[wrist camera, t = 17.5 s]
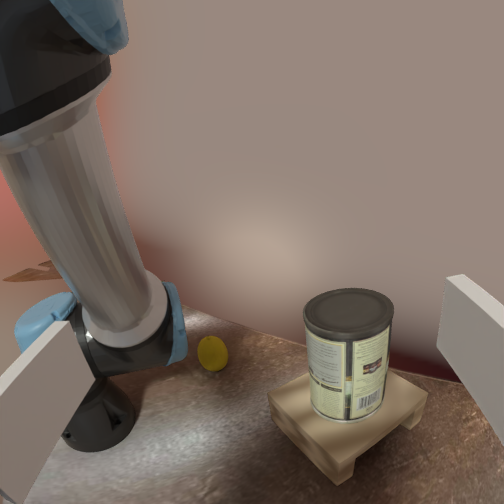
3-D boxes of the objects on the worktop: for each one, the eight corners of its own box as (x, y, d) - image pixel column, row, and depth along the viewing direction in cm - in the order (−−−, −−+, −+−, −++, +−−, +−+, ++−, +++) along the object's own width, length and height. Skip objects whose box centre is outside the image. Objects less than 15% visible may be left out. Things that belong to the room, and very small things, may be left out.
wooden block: (271, 419, 44) (267, 392, 42) (350, 375, 50) (351, 348, 48) (337, 486, 30) (339, 463, 28) (420, 420, 36) (428, 393, 35)
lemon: (230, 378, 55) (222, 343, 52) (201, 380, 55) (191, 346, 52) (232, 360, 60) (224, 326, 58) (204, 363, 60) (195, 329, 58)
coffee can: (336, 365, 45) (334, 281, 41) (396, 385, 38) (407, 296, 33) (293, 405, 38) (283, 317, 34) (359, 436, 31) (368, 343, 27)
